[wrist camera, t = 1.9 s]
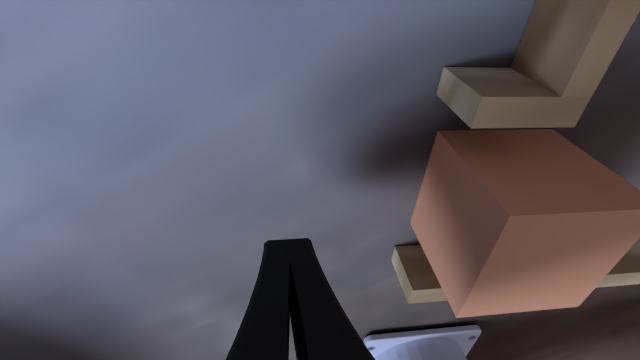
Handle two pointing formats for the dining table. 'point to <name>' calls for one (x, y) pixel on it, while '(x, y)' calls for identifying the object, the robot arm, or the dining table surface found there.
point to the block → (521, 220)
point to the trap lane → (534, 102)
